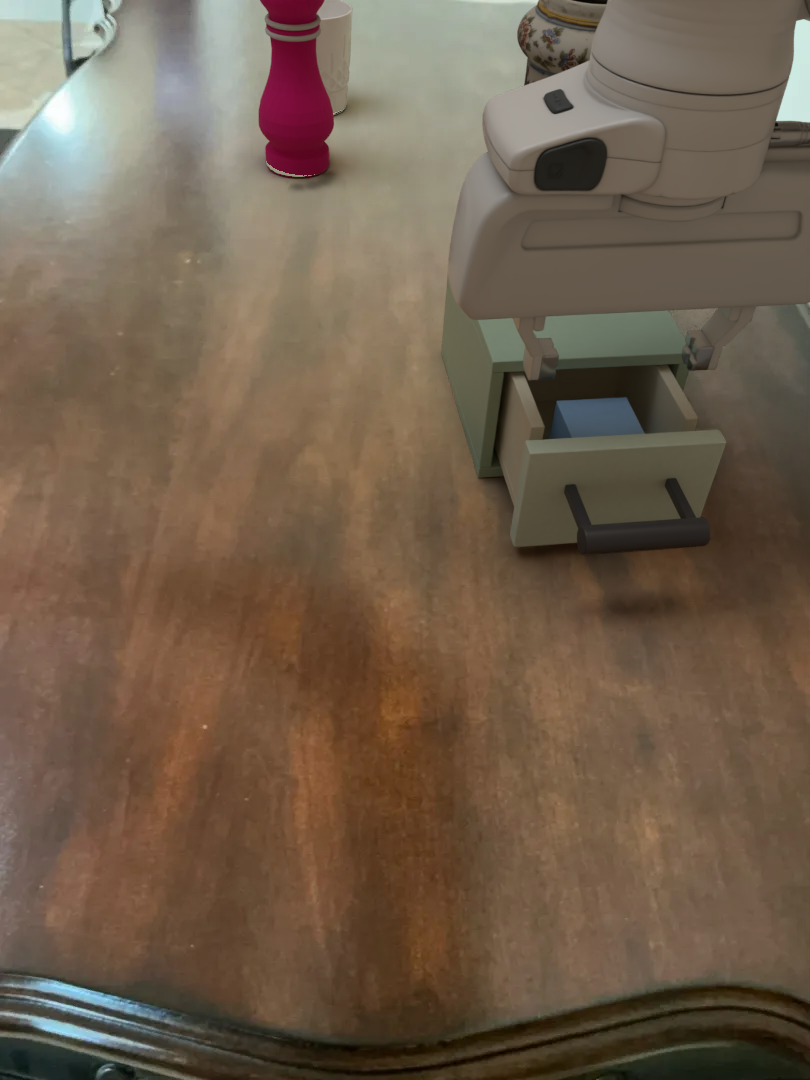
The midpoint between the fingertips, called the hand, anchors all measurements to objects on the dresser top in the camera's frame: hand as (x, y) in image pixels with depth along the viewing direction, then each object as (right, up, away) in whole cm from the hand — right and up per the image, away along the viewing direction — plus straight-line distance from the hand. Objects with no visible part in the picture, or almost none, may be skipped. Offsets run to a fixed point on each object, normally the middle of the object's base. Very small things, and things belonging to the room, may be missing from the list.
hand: (618, 369), depth 55 cm
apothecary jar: (+3, +24, +40) cm, 47 cm away
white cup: (-22, +38, +52) cm, 68 cm away
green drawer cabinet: (-2, 0, +14) cm, 15 cm away
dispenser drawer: (-1, -7, +6) cm, 9 cm away
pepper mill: (-23, +27, +41) cm, 55 cm away
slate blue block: (-1, -6, +6) cm, 8 cm away
